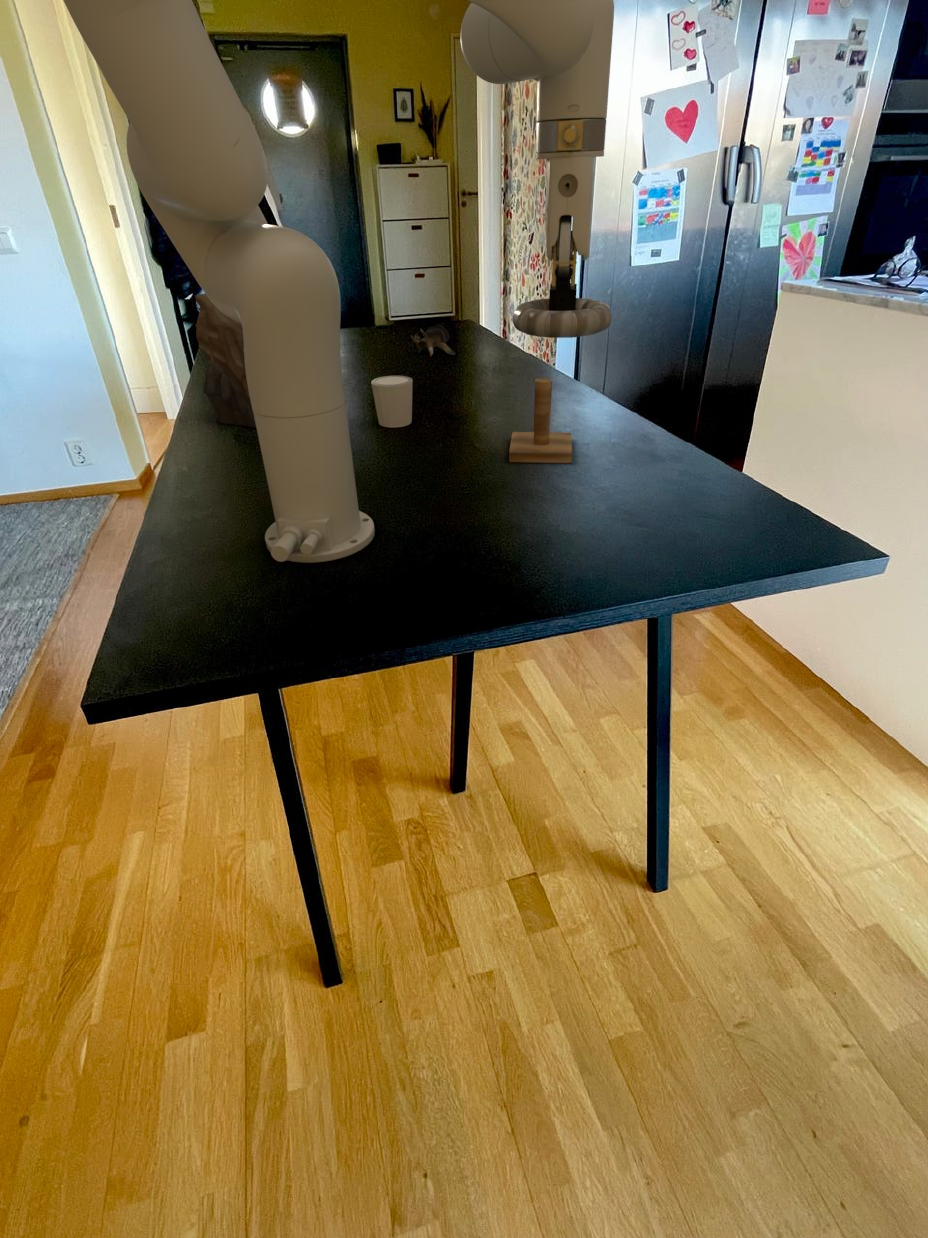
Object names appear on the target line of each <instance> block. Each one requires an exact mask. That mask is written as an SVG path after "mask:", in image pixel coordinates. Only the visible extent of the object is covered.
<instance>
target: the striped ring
mask: <svg viewBox="0 0 928 1238" xmlns="http://www.w3.org/2000/svg"><path fill="white" fill-rule="evenodd" d="M612 320H613V315H612V309H611V306H609V305H608V304H607V303H605V302H603V301H599V300H596V299H593V298H583V297H582V298H581V297H576V309H575V310H574V311H549V297H548V298H539V299H532V300H529V301H526V302H522V303H520V304H519V305H517V306H516V307H515V311H514V312H513V315H512V324H513V327H514V328H515V329H516V330H517V331H518V332H521V333H523V334H526V335H528V336H532V337H541V338H546V339H547V338H549V339H573V338H581V337H588V336H589V337H590V336H593V335H595V334H598V333H602V332H604V331H605V330H607V329H608V328H609V327H610V325H611V323H612Z"/></svg>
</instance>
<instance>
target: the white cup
mask: <svg viewBox="0 0 928 1238" xmlns="http://www.w3.org/2000/svg"><path fill="white" fill-rule="evenodd" d="M413 381H414V380H413V378H412V377H410V376H407V375H385V376H379V377H376V378H374V379H372V380H371V382H370V385H371V390H372V394H373V400H374V405H375V406H374V407H375V410H376V416H377V421H378V425H379V426H381V427H384V428H393V429H395V428H403V427H406V426H409V425H411V424H412V421H413Z"/></svg>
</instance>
